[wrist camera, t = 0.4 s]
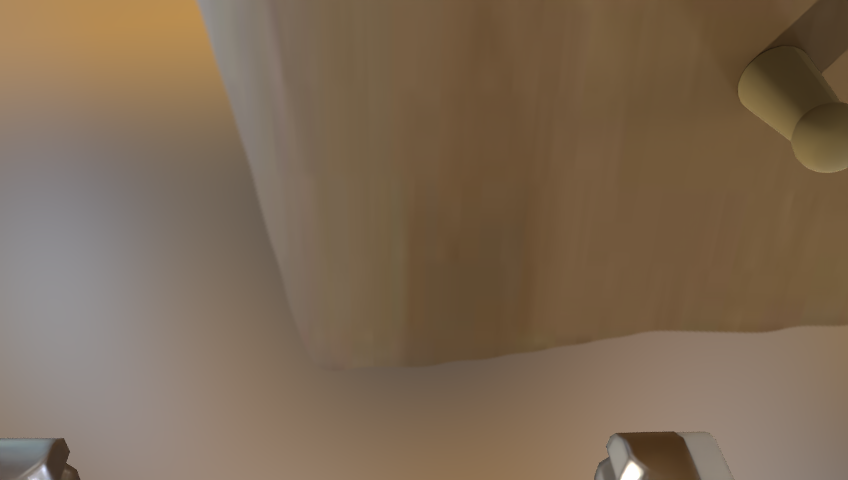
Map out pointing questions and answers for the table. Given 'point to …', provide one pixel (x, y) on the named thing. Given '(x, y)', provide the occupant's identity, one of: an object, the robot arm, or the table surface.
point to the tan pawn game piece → (798, 106)
